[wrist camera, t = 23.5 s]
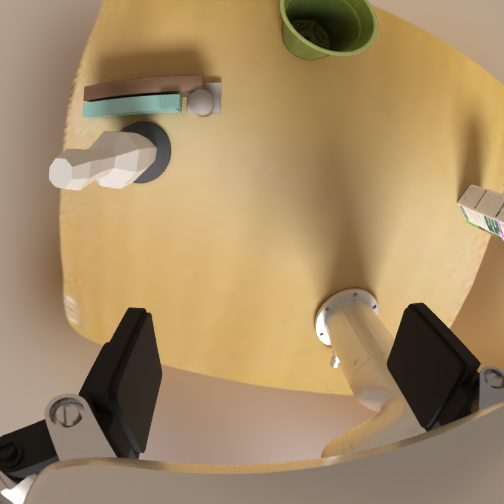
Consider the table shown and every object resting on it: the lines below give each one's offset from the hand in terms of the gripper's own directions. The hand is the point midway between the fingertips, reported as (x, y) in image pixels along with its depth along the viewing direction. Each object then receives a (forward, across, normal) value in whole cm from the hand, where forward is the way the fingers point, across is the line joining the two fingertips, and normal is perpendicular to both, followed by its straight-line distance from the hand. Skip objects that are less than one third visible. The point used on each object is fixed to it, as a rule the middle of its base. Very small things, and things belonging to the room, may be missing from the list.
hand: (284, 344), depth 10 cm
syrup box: (+35, -44, -1) cm, 56 cm away
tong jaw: (+32, +15, -12) cm, 38 cm away
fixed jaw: (+33, +13, -13) cm, 38 cm away
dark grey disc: (+33, +15, -6) cm, 37 cm away
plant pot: (+34, -8, -24) cm, 42 cm away
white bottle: (+33, +15, -6) cm, 37 cm away
